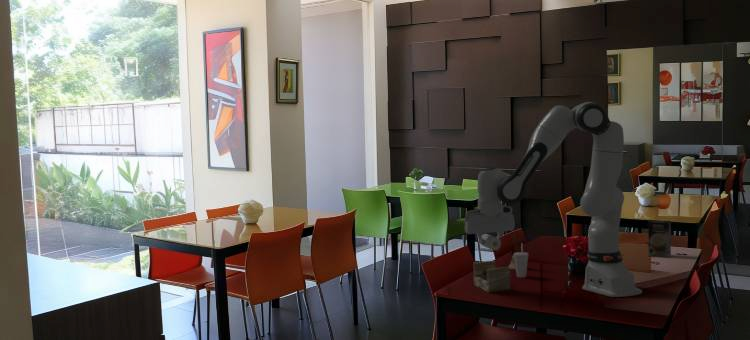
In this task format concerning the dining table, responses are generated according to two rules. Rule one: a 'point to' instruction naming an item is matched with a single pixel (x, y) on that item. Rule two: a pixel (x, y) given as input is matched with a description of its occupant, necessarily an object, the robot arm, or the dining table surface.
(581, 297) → the dining table surface
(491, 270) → the holder
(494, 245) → the roll
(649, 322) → the dining table surface
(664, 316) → the dining table surface
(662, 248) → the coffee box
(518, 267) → the smoothie
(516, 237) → the hand bell
